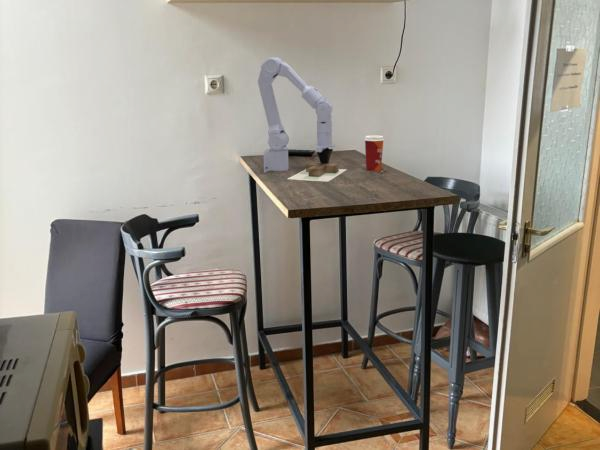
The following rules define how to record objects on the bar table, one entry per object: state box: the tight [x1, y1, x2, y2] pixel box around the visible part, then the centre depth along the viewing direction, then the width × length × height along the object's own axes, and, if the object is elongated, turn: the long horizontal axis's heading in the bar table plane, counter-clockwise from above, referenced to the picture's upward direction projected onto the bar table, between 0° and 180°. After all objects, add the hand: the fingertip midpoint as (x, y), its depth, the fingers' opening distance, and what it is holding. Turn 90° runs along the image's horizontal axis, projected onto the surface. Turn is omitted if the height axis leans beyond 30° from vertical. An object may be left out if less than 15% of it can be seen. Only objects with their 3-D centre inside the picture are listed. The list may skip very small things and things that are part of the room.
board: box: [287, 168, 348, 185], centre depth 226 cm, size 16×24×1 cm, turn 159°
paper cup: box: [363, 134, 385, 174], centre depth 231 cm, size 8×8×14 cm
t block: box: [305, 162, 340, 177], centre depth 226 cm, size 12×12×3 cm
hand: (324, 167), depth 232 cm, fingers closed
